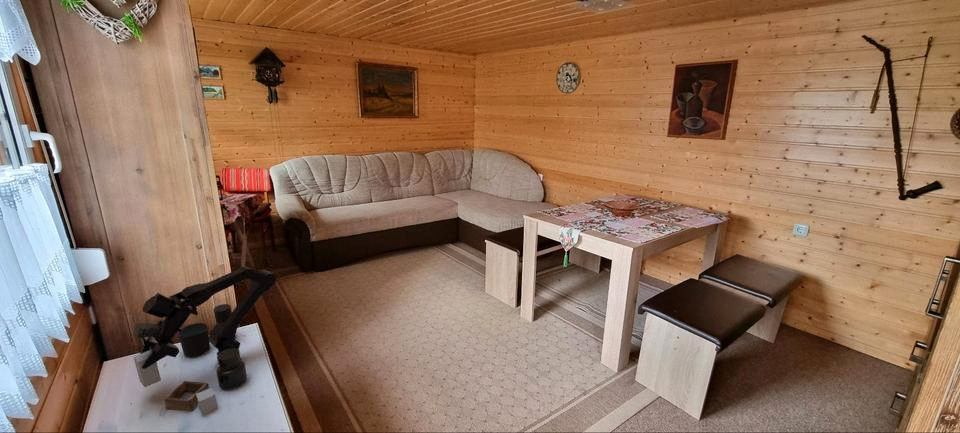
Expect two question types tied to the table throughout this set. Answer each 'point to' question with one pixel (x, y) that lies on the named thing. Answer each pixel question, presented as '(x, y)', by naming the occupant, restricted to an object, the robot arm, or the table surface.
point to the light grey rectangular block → (146, 370)
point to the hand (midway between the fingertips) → (140, 365)
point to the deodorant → (222, 313)
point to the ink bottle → (230, 369)
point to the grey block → (206, 401)
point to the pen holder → (194, 340)
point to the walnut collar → (183, 404)
